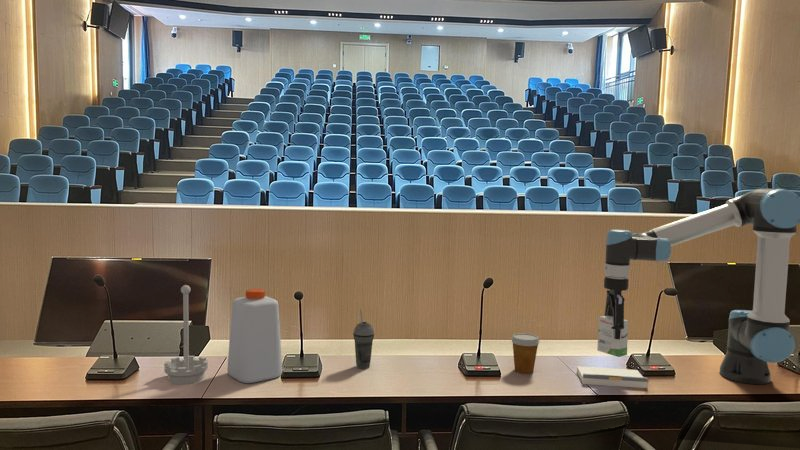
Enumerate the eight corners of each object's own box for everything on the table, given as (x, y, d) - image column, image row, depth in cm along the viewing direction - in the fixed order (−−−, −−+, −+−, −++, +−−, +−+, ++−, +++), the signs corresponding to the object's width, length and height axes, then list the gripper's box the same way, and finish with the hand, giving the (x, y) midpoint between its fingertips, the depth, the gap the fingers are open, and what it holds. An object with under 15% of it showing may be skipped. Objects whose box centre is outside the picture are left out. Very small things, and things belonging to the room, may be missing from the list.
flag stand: (212, 381, 188) (212, 287, 186) (168, 388, 182) (167, 290, 179) (202, 369, 199) (202, 280, 197) (161, 375, 193) (160, 283, 190)
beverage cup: (373, 370, 202) (374, 312, 201) (351, 370, 202) (352, 311, 201) (374, 363, 210) (375, 307, 208) (353, 363, 210) (354, 306, 208)
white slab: (637, 375, 204) (637, 366, 204) (647, 388, 192) (647, 378, 192) (576, 372, 206) (577, 362, 206) (583, 384, 194) (583, 374, 194)
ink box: (627, 355, 196) (630, 320, 195) (618, 357, 193) (620, 321, 192) (605, 348, 203) (607, 314, 202) (596, 350, 201) (598, 315, 199)
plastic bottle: (222, 373, 196) (222, 289, 193) (264, 364, 206) (265, 284, 203) (244, 386, 184) (244, 297, 182) (287, 376, 194) (288, 291, 192)
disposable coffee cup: (542, 369, 208) (543, 335, 207) (532, 377, 200) (534, 341, 199) (516, 364, 213) (517, 331, 212) (505, 371, 205) (507, 337, 204)
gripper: (597, 271, 207) (594, 334, 209) (612, 282, 186) (607, 353, 188) (620, 272, 206) (616, 336, 208) (637, 283, 185) (632, 354, 187)
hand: (612, 344), depth 198 cm, fingers closed on ink box, 9 cm apart
